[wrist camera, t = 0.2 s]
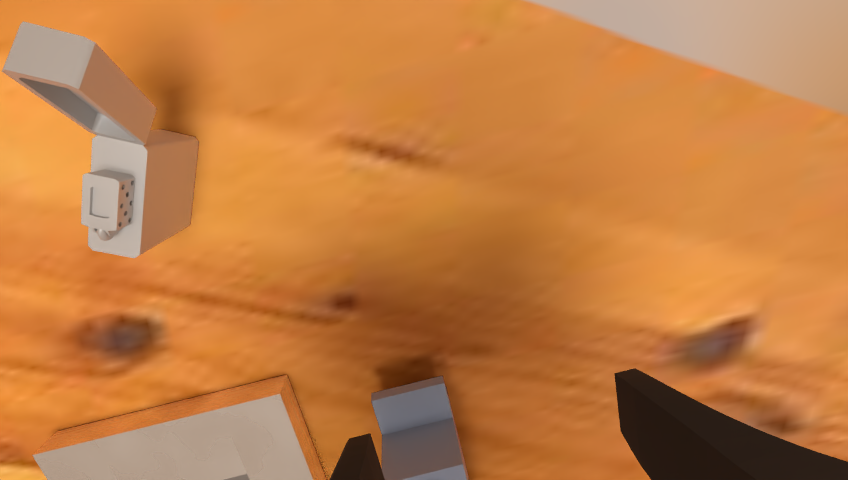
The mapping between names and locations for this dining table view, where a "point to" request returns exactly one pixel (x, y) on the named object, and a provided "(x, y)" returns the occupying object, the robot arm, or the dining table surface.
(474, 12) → the dining table surface
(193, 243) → the dining table surface
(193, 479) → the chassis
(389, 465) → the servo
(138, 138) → the lighter
